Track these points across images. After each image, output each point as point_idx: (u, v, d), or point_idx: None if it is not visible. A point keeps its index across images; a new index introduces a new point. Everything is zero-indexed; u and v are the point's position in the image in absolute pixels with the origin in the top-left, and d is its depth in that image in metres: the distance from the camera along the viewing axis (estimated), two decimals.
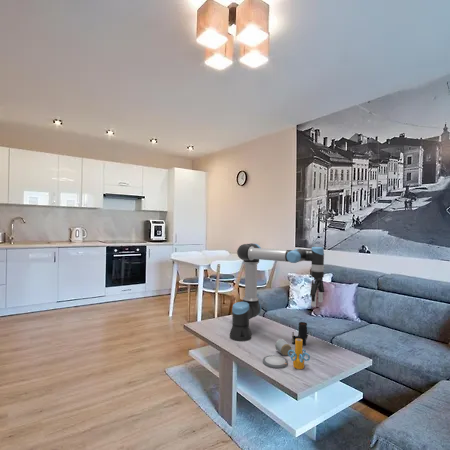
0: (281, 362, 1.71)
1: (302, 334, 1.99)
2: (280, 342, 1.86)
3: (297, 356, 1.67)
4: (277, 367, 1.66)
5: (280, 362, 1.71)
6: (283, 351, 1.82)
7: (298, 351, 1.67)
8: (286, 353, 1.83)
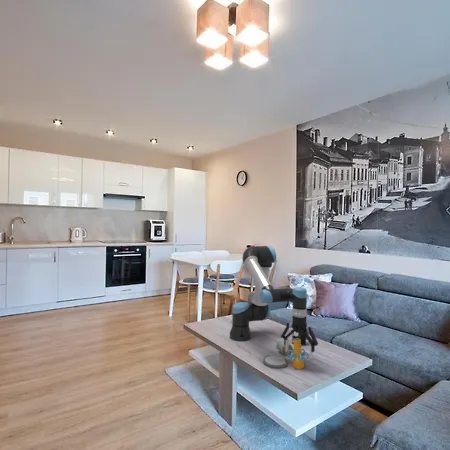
0: (281, 362, 1.71)
1: (302, 334, 1.99)
2: (281, 342, 1.86)
3: (296, 356, 1.67)
4: (277, 367, 1.66)
5: (280, 362, 1.71)
6: (284, 351, 1.82)
7: (297, 351, 1.67)
8: None
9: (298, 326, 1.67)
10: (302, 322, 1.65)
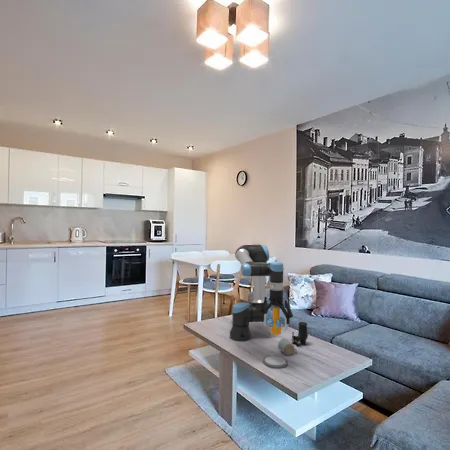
0: (281, 362, 1.71)
1: (302, 334, 1.99)
2: (283, 342, 1.87)
3: (274, 322, 1.72)
4: (277, 367, 1.66)
5: (280, 362, 1.71)
6: (286, 351, 1.82)
7: (275, 317, 1.71)
8: (289, 353, 1.83)
9: (275, 299, 1.72)
10: (278, 295, 1.70)
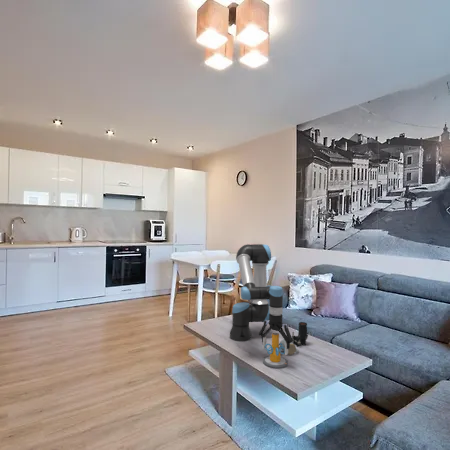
0: (281, 362, 1.71)
1: (302, 334, 1.99)
2: (285, 342, 1.87)
3: (273, 349, 1.72)
4: (277, 367, 1.66)
5: (280, 362, 1.71)
6: (288, 350, 1.83)
7: (274, 345, 1.71)
8: (291, 352, 1.83)
9: (274, 324, 1.72)
10: (278, 320, 1.70)
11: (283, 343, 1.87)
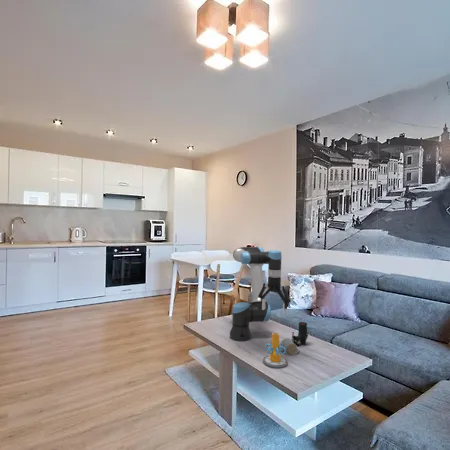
0: (281, 362, 1.71)
1: (302, 334, 1.99)
2: (286, 341, 1.87)
3: (273, 349, 1.72)
4: (277, 367, 1.66)
5: (280, 362, 1.71)
6: (289, 350, 1.83)
7: (274, 345, 1.72)
8: (292, 352, 1.84)
9: (273, 285, 1.81)
10: (276, 281, 1.78)
11: (284, 343, 1.87)
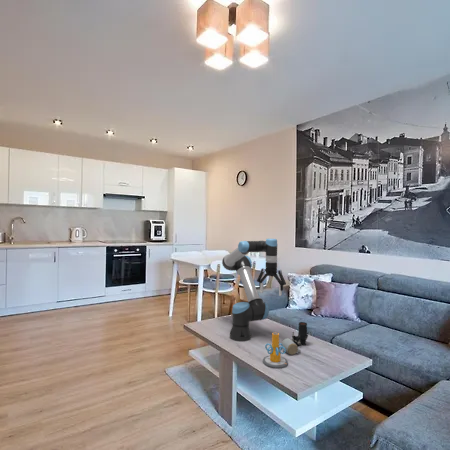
0: (281, 362, 1.71)
1: (302, 334, 1.99)
2: (286, 341, 1.87)
3: (273, 349, 1.72)
4: (277, 367, 1.66)
5: (280, 362, 1.71)
6: (289, 350, 1.83)
7: (274, 344, 1.72)
8: (292, 352, 1.84)
9: (270, 270, 2.01)
10: (273, 266, 1.98)
11: (285, 343, 1.87)
